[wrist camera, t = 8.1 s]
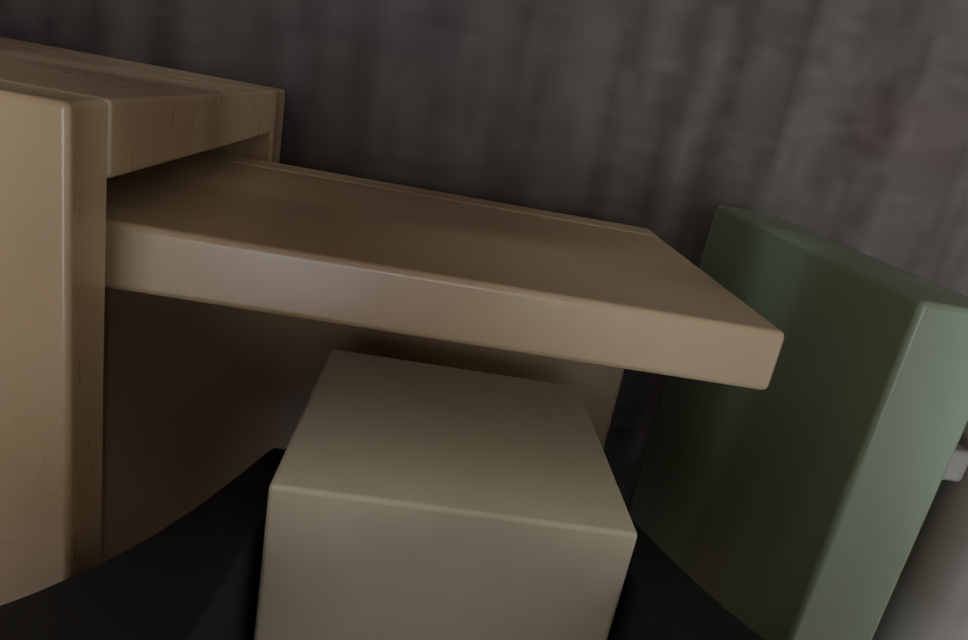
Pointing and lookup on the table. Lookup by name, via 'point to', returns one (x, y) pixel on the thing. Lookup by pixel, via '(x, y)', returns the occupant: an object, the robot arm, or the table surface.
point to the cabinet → (80, 270)
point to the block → (441, 511)
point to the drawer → (560, 371)
